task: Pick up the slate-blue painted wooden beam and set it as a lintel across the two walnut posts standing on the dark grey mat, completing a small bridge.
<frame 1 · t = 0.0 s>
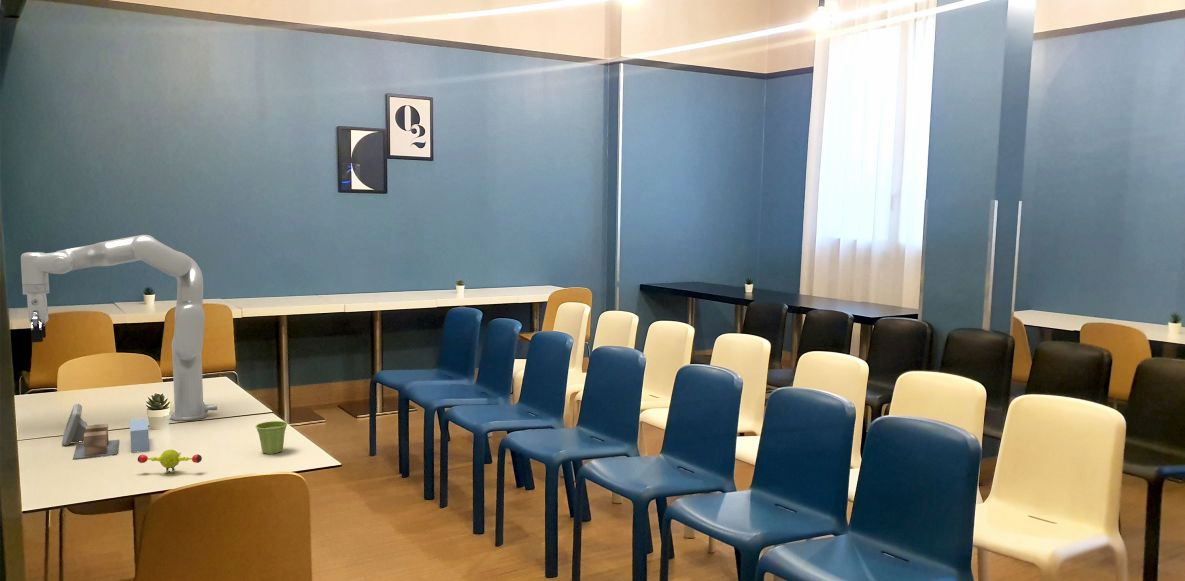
hand: (38, 339, 297), 31 cm above the table, tool pointing down, fingers open, 9 cm apart
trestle: (97, 449, 278), on the table
plant pot: (272, 452, 277), on the table
toy figure: (170, 473, 255), on the table
lintel: (139, 445, 284), on the table
digital clock: (73, 440, 290), on the table
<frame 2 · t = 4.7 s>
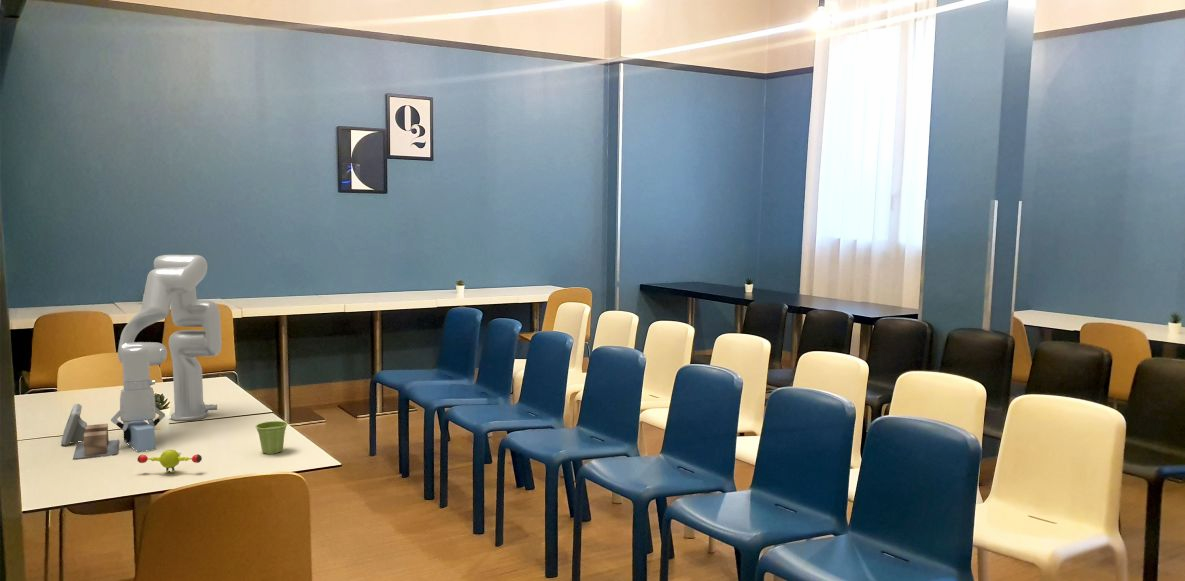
hand: (139, 440, 283), 2 cm above the table, tool pointing down, fingers closed on lintel, 6 cm apart
lintel: (139, 445, 283), on the table, touching gripper
everything else where it was.
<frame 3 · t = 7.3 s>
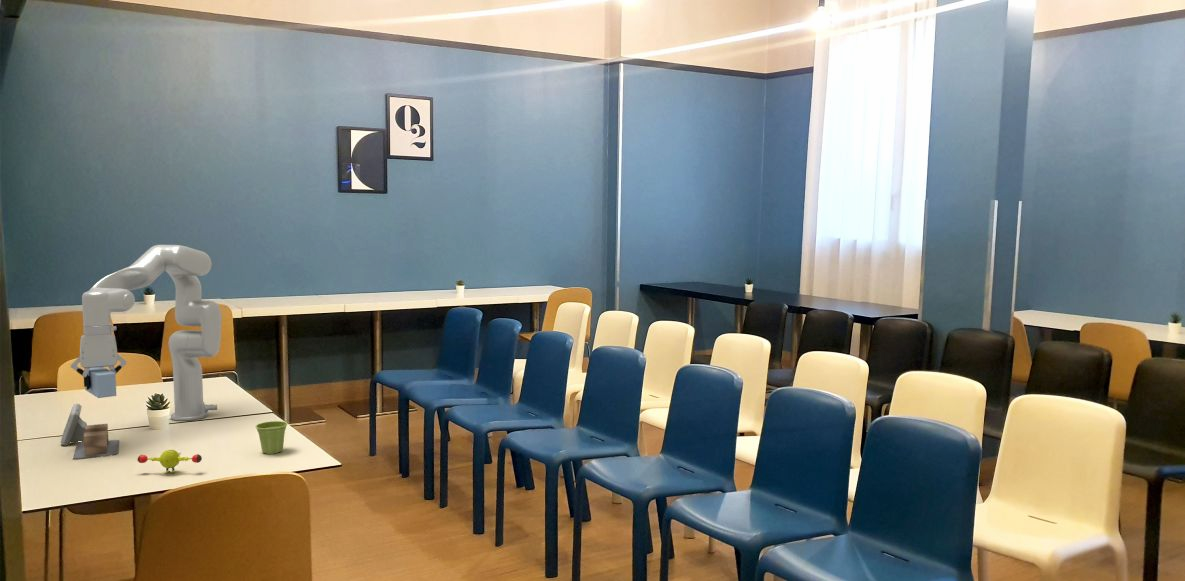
hand: (100, 387, 277), 20 cm above the table, tool pointing down, fingers closed on lintel, 5 cm apart
lintel: (100, 392, 277), point 18 cm above the table, touching gripper
everything else where it was.
when the fingers open (9 cm above the table, at t = 9.8 s): lintel drops 1 cm, resting on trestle.
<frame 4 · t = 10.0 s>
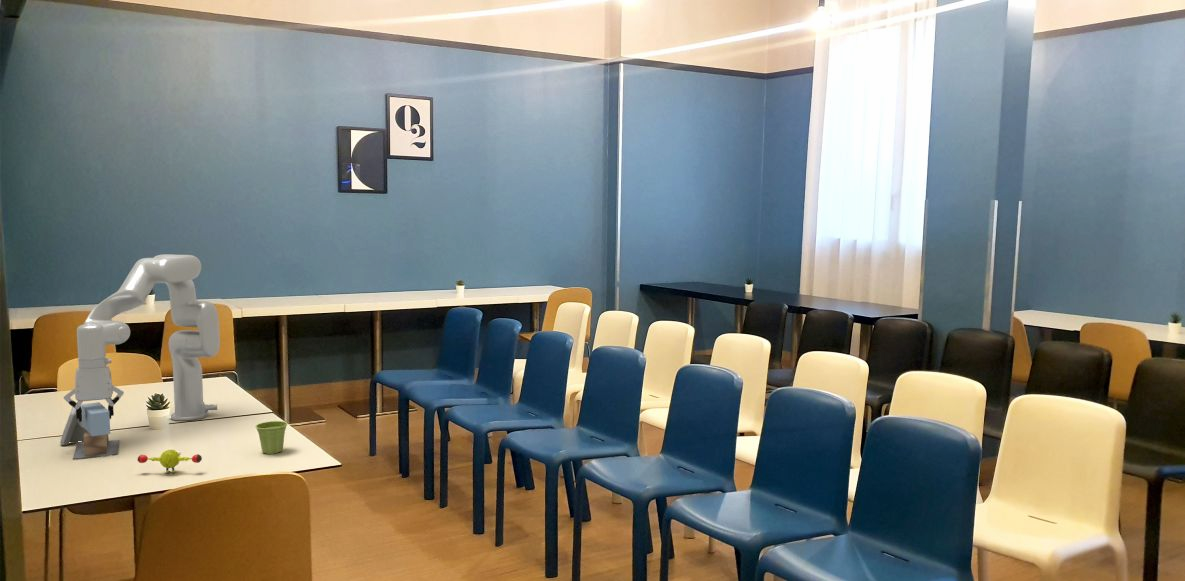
hand: (95, 419, 277), 10 cm above the table, tool pointing down, fingers open, 7 cm apart
lintel: (96, 429, 278), point 6 cm above the table, touching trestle
everything else where it was.
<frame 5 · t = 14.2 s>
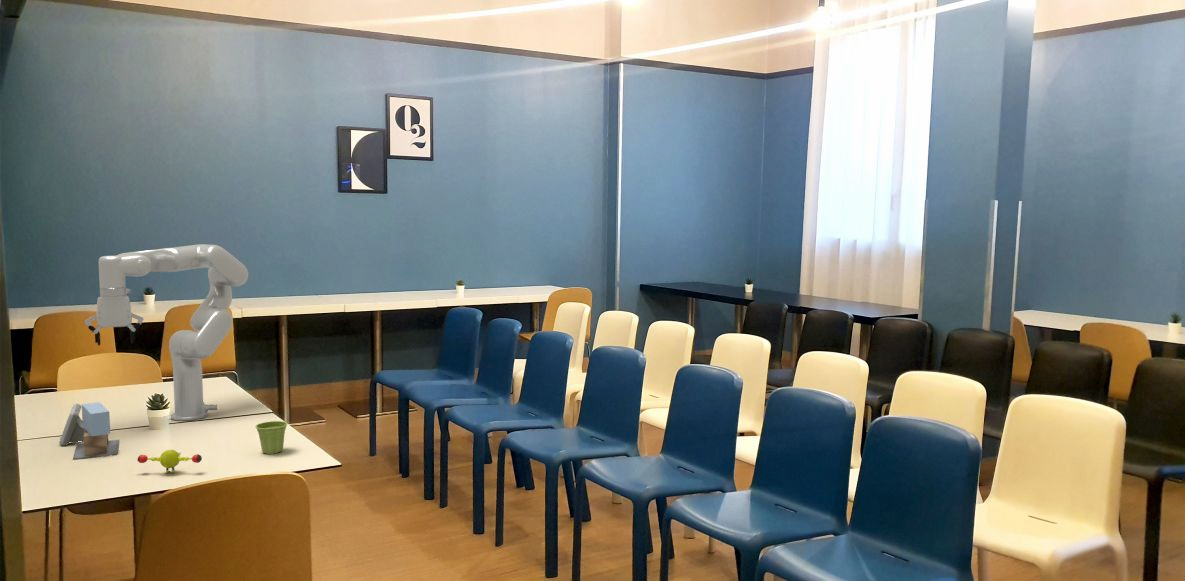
hand: (115, 343, 296), 30 cm above the table, tool pointing down, fingers open, 9 cm apart
nothing on the table moved.
at the end: lintel inside the target area (0.1 cm from its centre), point 6.4 cm above the table; the gripper is holding nothing; lintel touching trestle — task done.
